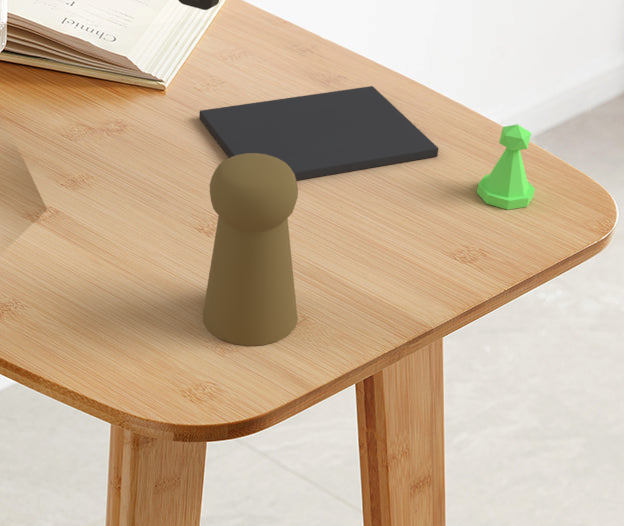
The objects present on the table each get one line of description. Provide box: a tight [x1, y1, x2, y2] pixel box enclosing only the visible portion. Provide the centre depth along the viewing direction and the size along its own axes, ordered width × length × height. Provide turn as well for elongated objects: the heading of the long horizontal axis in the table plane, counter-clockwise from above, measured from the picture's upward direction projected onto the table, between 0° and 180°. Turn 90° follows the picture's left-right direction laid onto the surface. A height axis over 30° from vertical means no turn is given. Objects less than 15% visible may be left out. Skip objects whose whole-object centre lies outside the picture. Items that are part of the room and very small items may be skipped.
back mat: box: [199, 85, 439, 181], centre depth 92 cm, size 16×12×1 cm
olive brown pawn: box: [202, 153, 299, 347], centre depth 69 cm, size 6×6×11 cm
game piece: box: [476, 124, 536, 211], centre depth 85 cm, size 4×4×6 cm
